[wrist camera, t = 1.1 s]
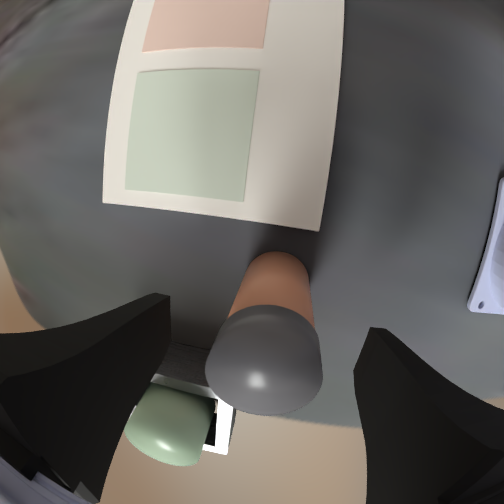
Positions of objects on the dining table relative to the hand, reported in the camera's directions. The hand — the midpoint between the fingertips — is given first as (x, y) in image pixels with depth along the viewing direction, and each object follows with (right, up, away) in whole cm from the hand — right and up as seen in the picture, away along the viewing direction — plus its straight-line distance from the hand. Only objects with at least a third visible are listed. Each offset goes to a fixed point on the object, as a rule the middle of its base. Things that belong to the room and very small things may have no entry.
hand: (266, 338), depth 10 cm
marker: (+1, +2, +5) cm, 5 cm away
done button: (-5, -6, +6) cm, 10 cm away
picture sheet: (-2, +12, +1) cm, 13 cm away
